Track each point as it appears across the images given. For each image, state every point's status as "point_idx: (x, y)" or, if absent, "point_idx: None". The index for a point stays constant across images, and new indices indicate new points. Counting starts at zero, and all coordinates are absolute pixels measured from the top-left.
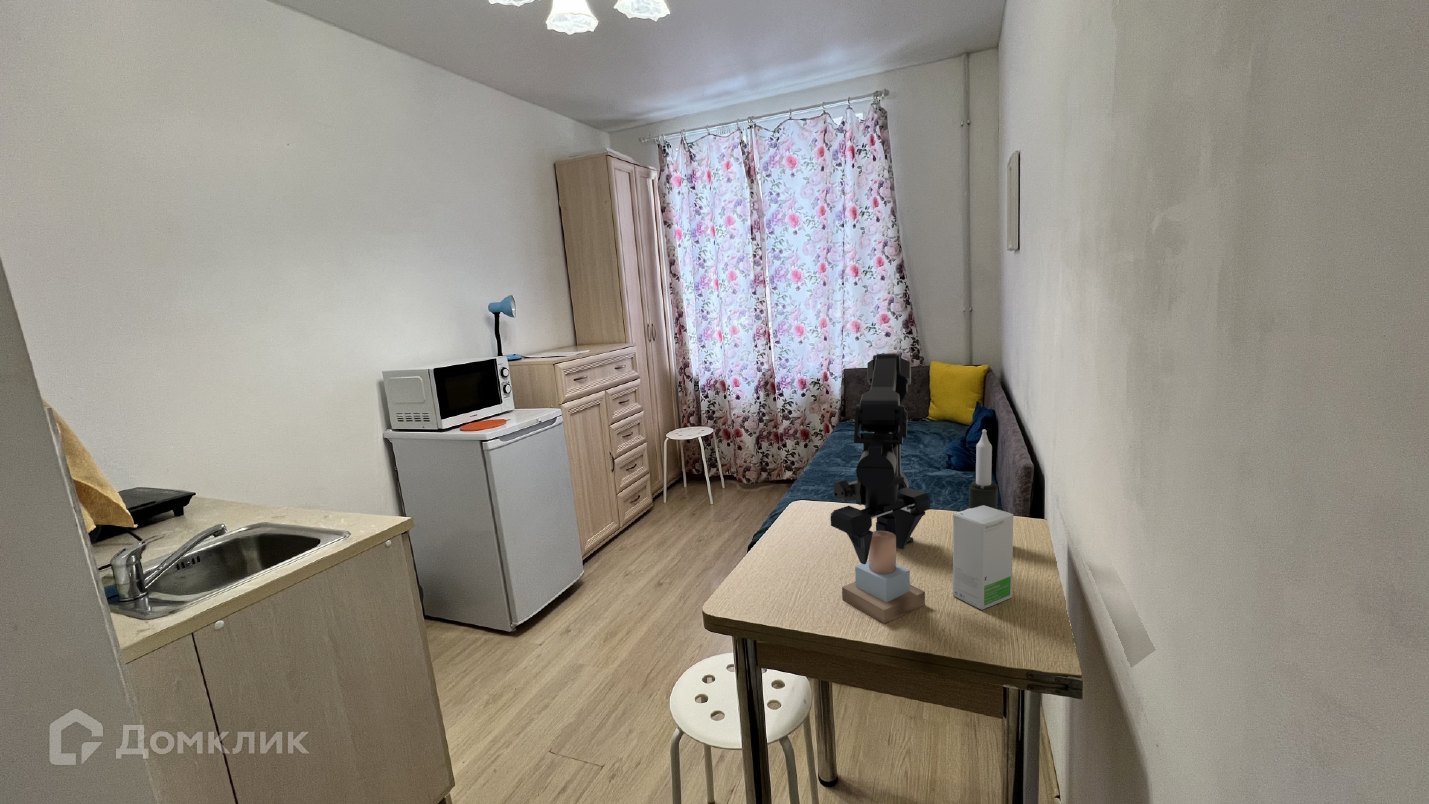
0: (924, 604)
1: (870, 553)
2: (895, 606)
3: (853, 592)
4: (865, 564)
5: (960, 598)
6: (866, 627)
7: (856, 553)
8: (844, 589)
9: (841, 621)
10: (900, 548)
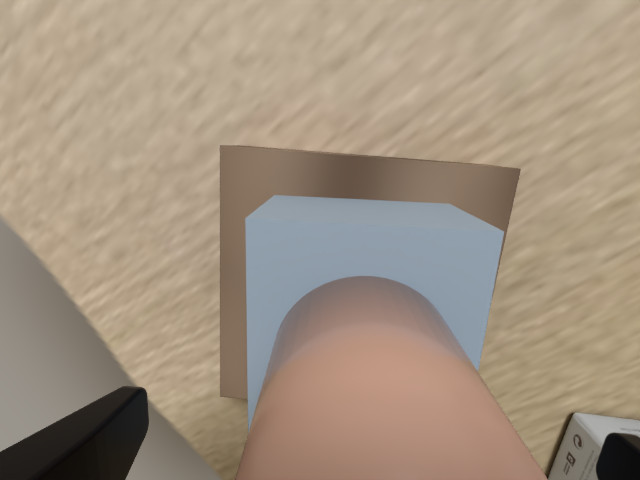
0: None
1: (252, 424)
2: None
3: (224, 224)
4: (323, 249)
5: (563, 445)
6: (175, 333)
7: (21, 441)
8: (221, 164)
9: (128, 254)
10: (605, 464)
